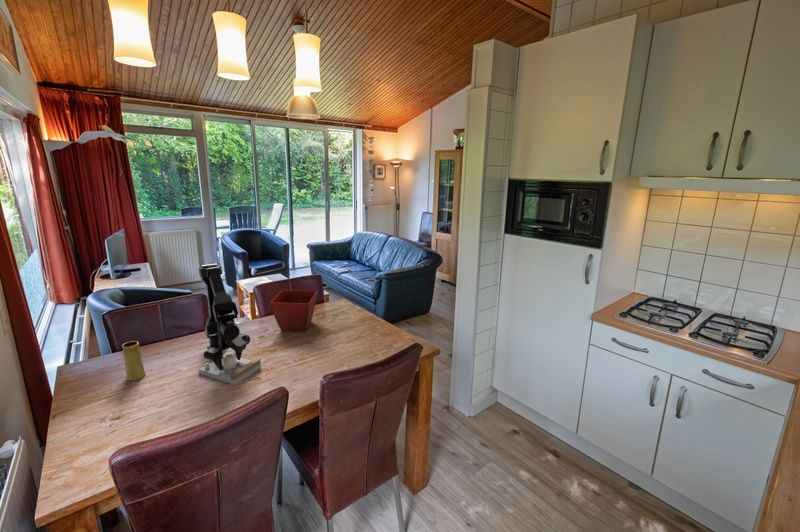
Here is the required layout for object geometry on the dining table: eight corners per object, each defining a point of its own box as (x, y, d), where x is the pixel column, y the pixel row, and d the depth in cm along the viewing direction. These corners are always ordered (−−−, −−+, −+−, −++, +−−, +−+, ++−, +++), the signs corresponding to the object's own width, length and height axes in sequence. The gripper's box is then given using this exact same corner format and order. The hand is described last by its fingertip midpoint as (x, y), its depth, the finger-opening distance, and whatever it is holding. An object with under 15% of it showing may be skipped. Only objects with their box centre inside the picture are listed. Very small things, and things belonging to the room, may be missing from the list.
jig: (199, 373, 151) (198, 364, 150) (226, 358, 164) (226, 349, 162) (234, 385, 144) (233, 375, 143) (261, 367, 157) (260, 359, 155)
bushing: (221, 372, 152) (219, 356, 151) (230, 366, 157) (229, 351, 155) (230, 375, 151) (228, 359, 149) (239, 369, 155) (238, 353, 153)
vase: (149, 374, 150) (143, 341, 146) (134, 382, 144) (128, 348, 140) (138, 371, 152) (132, 339, 148) (122, 379, 146) (116, 346, 142)
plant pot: (309, 334, 188) (308, 303, 183) (272, 333, 188) (269, 302, 183) (318, 319, 206) (317, 290, 202) (283, 318, 206) (282, 289, 202)
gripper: (222, 343, 138) (226, 381, 142) (259, 325, 154) (261, 359, 158) (200, 337, 142) (205, 374, 146) (238, 320, 159) (241, 353, 163)
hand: (230, 365), depth 153 cm, fingers open, 9 cm apart
